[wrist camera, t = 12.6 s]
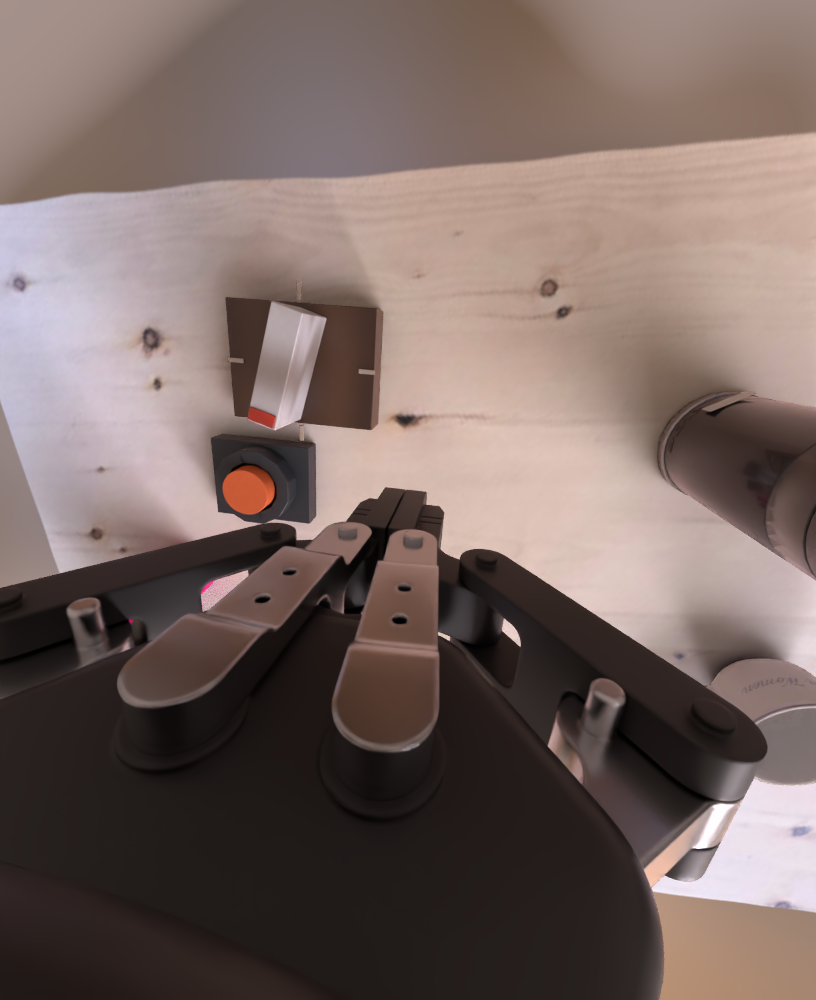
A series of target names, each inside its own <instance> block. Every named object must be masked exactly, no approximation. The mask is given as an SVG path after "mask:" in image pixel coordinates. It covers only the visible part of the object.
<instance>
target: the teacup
mask: <svg viewBox="0 0 816 1000" xmlns="http://www.w3.org/2000/svg"><path fill="white" fill-rule="evenodd" d="M705 687H707V688H708V689H710V690H711V691H713V692H714V693H716V694H717V695H719V696H720V697H722V698H723V699H725V700H726V701H728V702H730V703H731V704H733V705H734V706H735V707H737V708H738V709H740V710H741V711H742V712H743V713H745V714H746V715H747V716H748V717H749V718H750V719H751V720H752V721H753V722H754V723H755V724H756V725H757V726H758V727H759V729H760V730H761V732H762V733H763V735H764V737H765V739H766V742H767V746H768V750H767V754H766V756H765V758H764V760H763V762H762V764H761V765H760V767H759V769H758V771H757V773H756V775H755V777H754V779H756V780H759V781H761V782H764V783H768V784H774V785H782V786H795V785H807V784H812V783H816V678H815V677H814V676H813V675H812V674H810V673H809V672H807V671H806V670H804V669H803V668H801V667H799V666H797V665H794V664H792V663H789V662H786V661H782V660H776V659H746V660H741V661H738V662H735V663H732V664H730V665H728V666H727V667H725V668H724V669H722V670H721V671H720V672H719V673H718V674H717V676H716V677H715V678H714V680H713V681H712V683H711V684H710V685H707V686H705Z"/></svg>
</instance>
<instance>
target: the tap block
mask: <svg viewBox="0 0 816 1000" xmlns="http://www.w3.org/2000/svg"><path fill="white" fill-rule="evenodd" d="M296 283H297V300H302V293H301V281H296ZM271 302H272V301H271V300H258V299H244V298H231V297H226V309H227V322H228V334H229V347H230V357H228V362H231V373H232V386H233V399H234V412H235V416H239V417H248V413H249V408H250V403H251V399H252V394H253V389H254V384H255V379H256V374H257V369H258V364H259V359H260V355H261V350H262V345H263V340H264V335H265V330H266V325H267V320H268V315H269V311H270V306H271ZM275 302H279V303H284V304H288V305H292V306H297V307H301V308H303V309H306V310H308V311H311V312H314V313H316V314H319V315H321V316H324V317H326V323H325V327H324V331H323V334H322V338H321V342H320V346H319V350H318V354H317V358H316V362H315V366H314V369H313V373H312V377H311V381H310V385H309V389H308V393H307V397H306V401H305V404H304V408H303V412H302V416H301V419H300V420H298V421H295V422H297V423H307V424H317V425H326V426H336V427H346V428H355V429H365V430H372V429H373V428H374V427H375V426H376V425H377V424H378V410H379V390H380V370H381V350H382V330H383V311H381V310H379V309H376V308H364V307H351V306H337V305H324V304H311V303H297V302H284V301H275ZM299 429H300V441H304V426H303V425H299Z"/></svg>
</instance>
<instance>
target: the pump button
mask: <svg viewBox="0 0 816 1000" xmlns="http://www.w3.org/2000/svg"><path fill="white" fill-rule="evenodd" d="M223 494H224V497H225V499H226V501H227V503H228V504H229V505H230V506H231V507H232V508H233V509H234V510H236V511H238V512H240V513H243V514H256V513H258V512H260V511H261V510H262V509H264V508H265V507H266V506H267V505H269V504H270V503H271V502H272V500H273V498H274V495H275V485H274V482H273V480H272V478H271V477H270V475H269V474H268V473H267V472H266V471H265V470H263V469H261V468H260V467H257V466H253V465H246V466H242V467H240V468H238V469H237V470H235V471H233V472H231V473H230V474H228V475H227V476H226V478H225V480H224V482H223Z"/></svg>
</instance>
